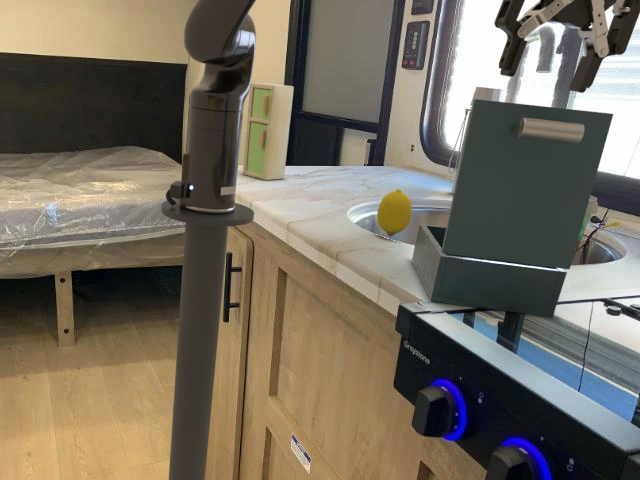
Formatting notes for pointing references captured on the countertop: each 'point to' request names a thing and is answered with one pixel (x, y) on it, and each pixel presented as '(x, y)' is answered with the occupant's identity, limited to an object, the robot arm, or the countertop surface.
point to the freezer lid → (524, 182)
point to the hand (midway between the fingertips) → (541, 83)
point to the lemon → (394, 212)
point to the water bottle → (479, 94)
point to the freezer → (484, 278)
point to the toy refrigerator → (267, 130)
